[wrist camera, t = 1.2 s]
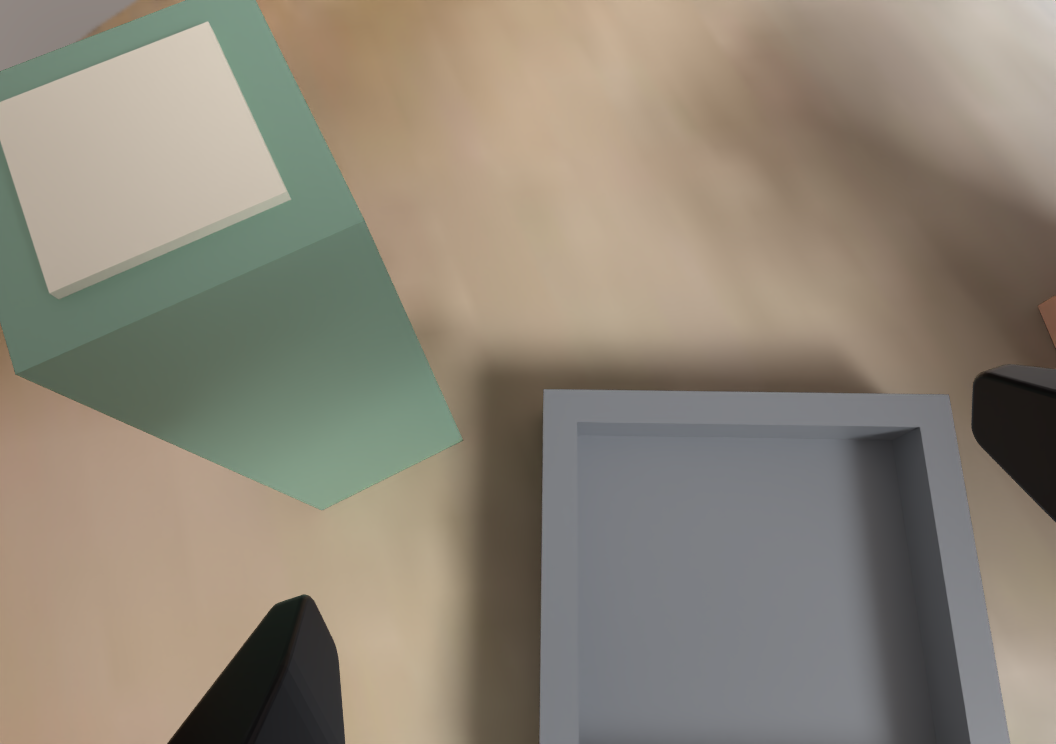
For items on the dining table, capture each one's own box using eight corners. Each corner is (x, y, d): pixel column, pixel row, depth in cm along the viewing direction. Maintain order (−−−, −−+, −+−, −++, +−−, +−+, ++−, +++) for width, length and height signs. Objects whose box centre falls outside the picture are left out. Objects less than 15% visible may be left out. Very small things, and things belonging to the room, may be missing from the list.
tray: (972, 836, 20) (1031, 868, 17) (538, 825, 20) (538, 856, 17) (907, 416, 23) (948, 394, 21) (543, 411, 24) (543, 389, 21)
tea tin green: (462, 440, 23) (361, 213, 10) (321, 510, 23) (4, 369, 9) (401, 315, 25) (239, -33, 11) (267, 378, 24) (-77, 86, 11)
